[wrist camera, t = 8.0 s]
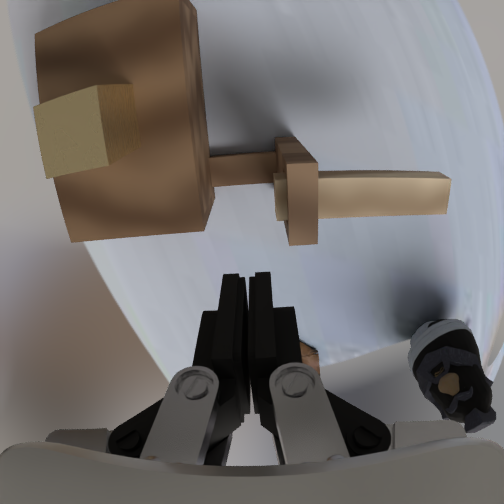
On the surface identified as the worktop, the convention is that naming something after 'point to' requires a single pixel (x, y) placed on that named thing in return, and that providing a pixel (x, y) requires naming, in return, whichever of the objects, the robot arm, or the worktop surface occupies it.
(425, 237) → the worktop surface
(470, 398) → the black rounded piece
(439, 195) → the wooden key
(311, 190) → the wooden box
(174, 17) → the lid
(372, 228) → the worktop surface
